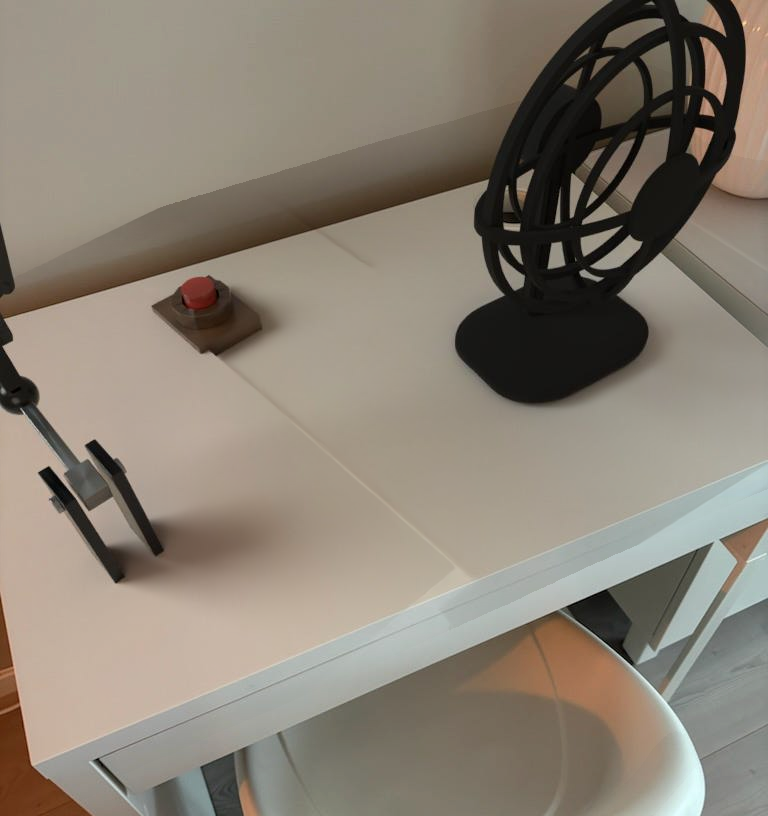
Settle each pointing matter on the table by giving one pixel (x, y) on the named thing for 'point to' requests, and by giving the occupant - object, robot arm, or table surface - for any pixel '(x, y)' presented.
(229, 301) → the button block
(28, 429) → the table surface
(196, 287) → the button
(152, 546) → the bracket
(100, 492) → the lever
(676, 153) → the desk fan
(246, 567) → the table surface
